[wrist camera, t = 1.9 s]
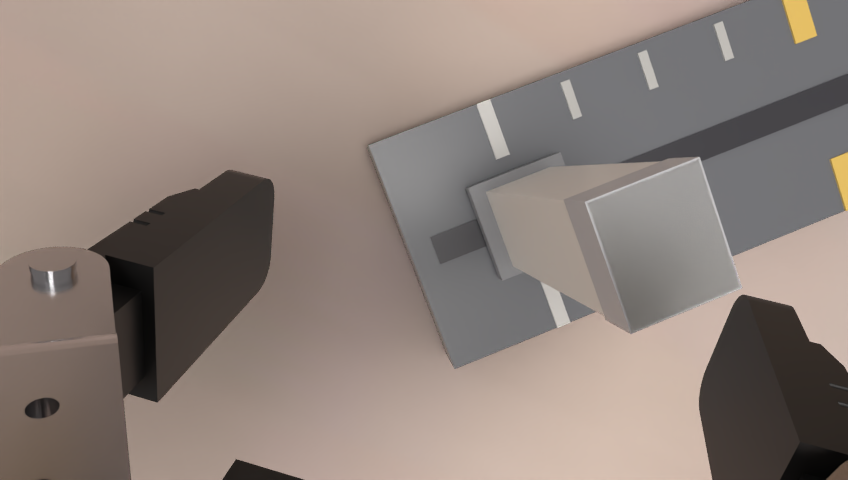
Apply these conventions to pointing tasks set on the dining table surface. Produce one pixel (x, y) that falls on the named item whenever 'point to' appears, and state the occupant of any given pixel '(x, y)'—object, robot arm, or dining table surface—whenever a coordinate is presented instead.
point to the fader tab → (610, 235)
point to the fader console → (631, 152)
